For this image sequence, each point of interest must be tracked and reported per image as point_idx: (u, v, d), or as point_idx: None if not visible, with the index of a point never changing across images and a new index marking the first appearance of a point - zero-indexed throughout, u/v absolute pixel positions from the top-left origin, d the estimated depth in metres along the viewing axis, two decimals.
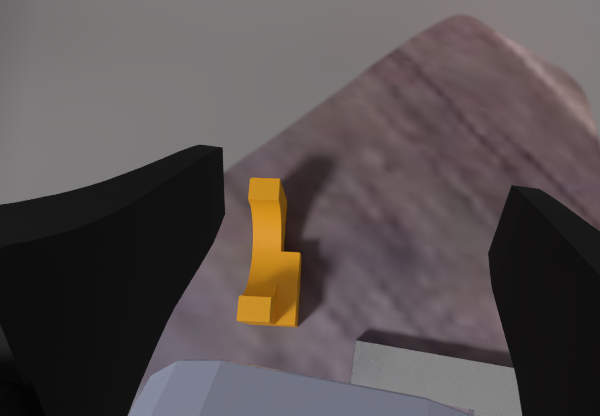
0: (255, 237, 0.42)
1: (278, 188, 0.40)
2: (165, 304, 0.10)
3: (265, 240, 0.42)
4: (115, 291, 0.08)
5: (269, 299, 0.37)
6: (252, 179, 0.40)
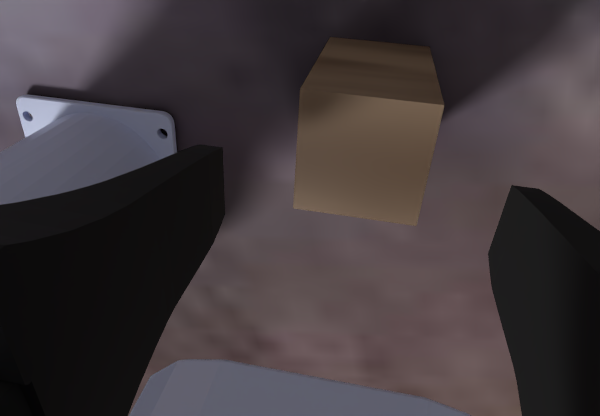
0: None
1: None
2: (165, 304, 0.10)
3: None
4: (115, 291, 0.08)
5: None
6: None
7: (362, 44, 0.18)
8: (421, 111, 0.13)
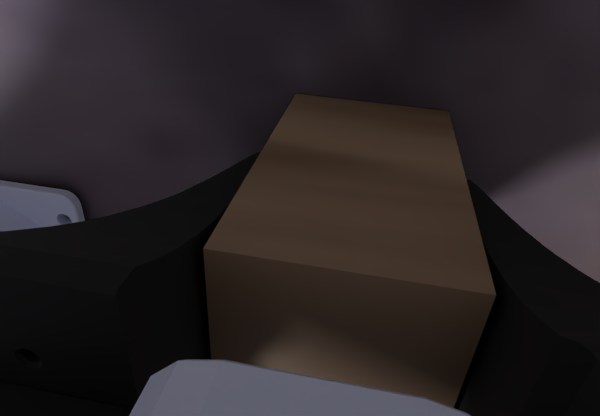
0: None
1: None
2: None
3: None
4: (203, 306, 0.08)
5: None
6: None
7: (343, 109, 0.12)
8: (447, 301, 0.06)
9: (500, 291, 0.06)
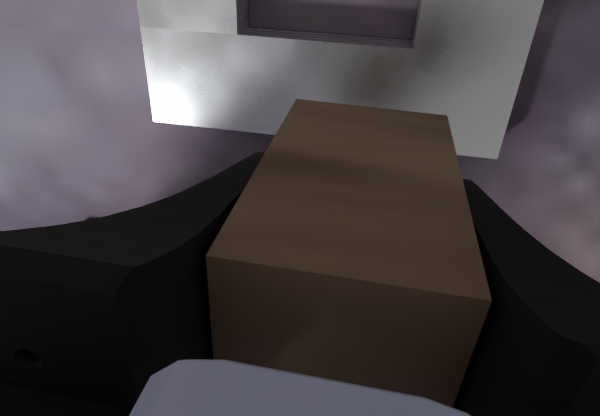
0: None
1: None
2: None
3: None
4: (202, 306, 0.08)
5: None
6: None
7: (343, 114, 0.12)
8: (444, 306, 0.06)
9: (501, 291, 0.06)
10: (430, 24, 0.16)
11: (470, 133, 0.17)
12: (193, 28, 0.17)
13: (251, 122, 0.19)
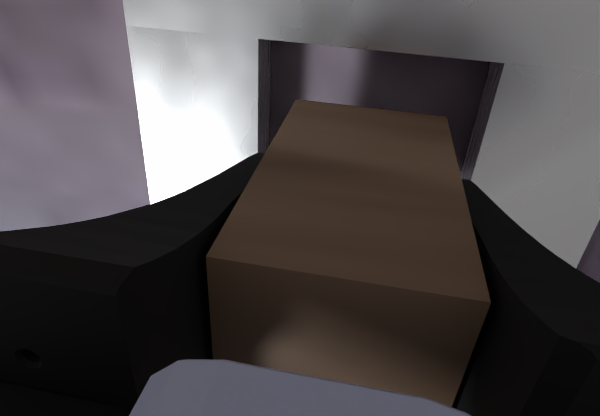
0: None
1: None
2: None
3: None
4: (203, 306, 0.08)
5: None
6: None
7: (343, 115, 0.12)
8: (443, 308, 0.06)
9: (500, 291, 0.06)
10: None
11: None
12: None
13: None
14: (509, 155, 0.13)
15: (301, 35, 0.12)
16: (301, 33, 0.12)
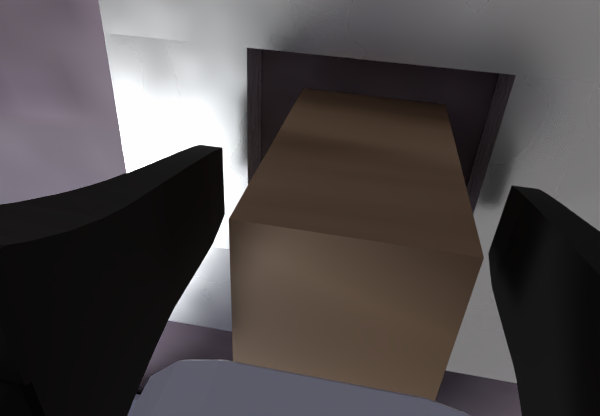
0: None
1: None
2: (165, 304, 0.10)
3: None
4: (115, 291, 0.08)
5: None
6: None
7: (348, 102, 0.12)
8: (441, 264, 0.07)
9: None
10: None
11: (512, 363, 0.15)
12: None
13: None
14: (520, 174, 0.12)
15: (293, 44, 0.11)
16: (293, 42, 0.11)
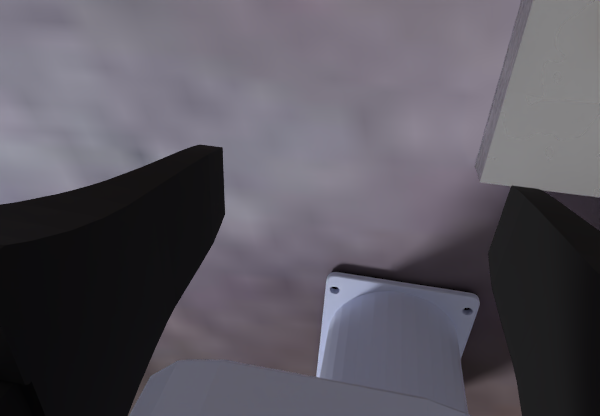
0: None
1: None
2: (165, 304, 0.10)
3: None
4: (115, 291, 0.08)
5: None
6: None
7: None
8: None
9: None
10: None
11: None
12: (566, 97, 0.17)
13: (592, 187, 0.19)
14: None
15: None
16: None
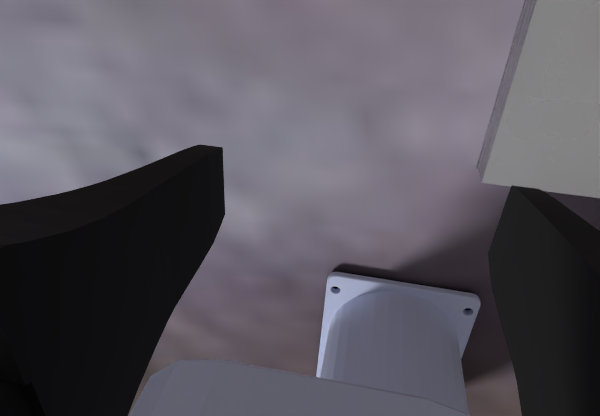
0: None
1: None
2: (165, 304, 0.10)
3: None
4: (115, 291, 0.08)
5: None
6: None
7: None
8: None
9: None
10: None
11: None
12: (569, 98, 0.17)
13: (594, 187, 0.19)
14: None
15: None
16: None
